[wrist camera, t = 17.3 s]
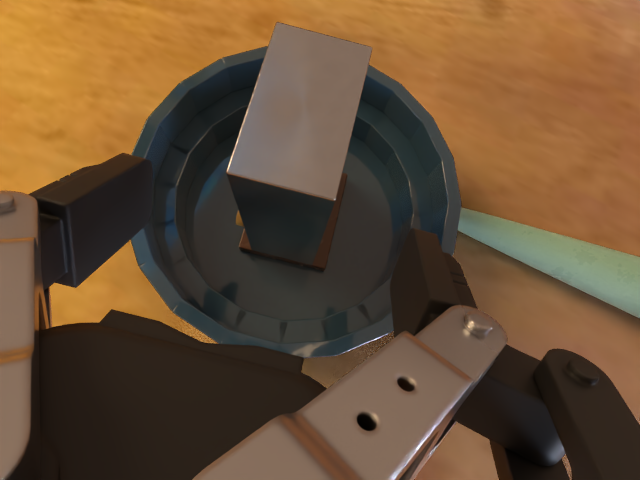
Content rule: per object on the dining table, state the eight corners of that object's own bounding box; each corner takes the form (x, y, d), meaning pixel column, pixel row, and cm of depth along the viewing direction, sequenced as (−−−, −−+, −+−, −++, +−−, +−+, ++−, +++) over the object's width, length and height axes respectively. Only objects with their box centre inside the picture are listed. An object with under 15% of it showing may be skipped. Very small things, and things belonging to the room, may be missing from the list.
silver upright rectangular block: (323, 271, 22) (359, 206, 12) (239, 250, 22) (201, 166, 12) (346, 179, 24) (393, 52, 14) (267, 158, 24) (255, 15, 14)
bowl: (364, 74, 27) (381, 16, 22) (469, 293, 24) (516, 280, 19) (126, 142, 24) (87, 91, 19) (206, 403, 21) (182, 421, 16)
